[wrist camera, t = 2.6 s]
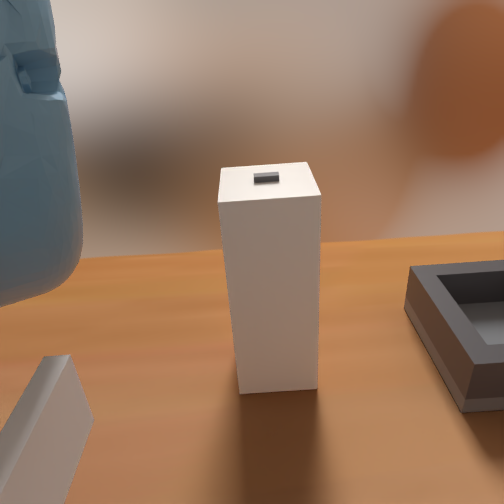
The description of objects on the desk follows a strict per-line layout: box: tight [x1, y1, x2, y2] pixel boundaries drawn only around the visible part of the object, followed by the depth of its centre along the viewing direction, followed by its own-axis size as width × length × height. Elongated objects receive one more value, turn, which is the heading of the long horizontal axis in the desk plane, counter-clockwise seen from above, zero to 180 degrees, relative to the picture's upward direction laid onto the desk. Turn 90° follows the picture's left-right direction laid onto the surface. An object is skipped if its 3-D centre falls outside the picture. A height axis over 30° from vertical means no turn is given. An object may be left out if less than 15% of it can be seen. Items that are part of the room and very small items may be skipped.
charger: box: [218, 162, 321, 394], centre depth 23 cm, size 4×4×12 cm
